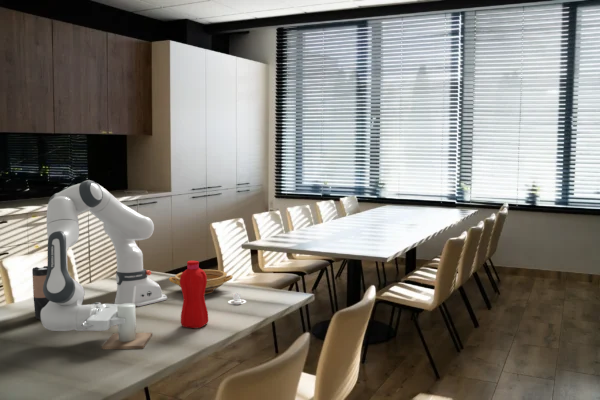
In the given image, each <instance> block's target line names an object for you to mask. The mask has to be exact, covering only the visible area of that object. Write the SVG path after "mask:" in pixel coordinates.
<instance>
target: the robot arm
mask: <svg viewBox="0 0 600 400" xmlns="http://www.w3.org/2000/svg"><path fill="white" fill-rule="evenodd" d="M87 211H89V212H90V213H91V214H92V215H94V216H95V217H96V218H97V219H98V220H100V221H101V222H102V223H103V225H102V226H103V227H102V228H103V231H104V233H105V234H107V236H108V237H109V239H110V241H111V243H112V246H113V248H114V251H115V259H116V273H115V281H116V293H115V294H116V295H115V300H114V303H101V302H100V301H99V302H97V301H96V302H93V303H91V304H90V303H89V304H83V303H84V297H85V295H86V294H85V293H86V292H85V287H84V286H83V285H82V284H81V283H79V282H78V281H77V280H76V279H74V278H73V277H72V276H71V275H70V273H69V270H68V249H69V248H71V247H73V246H74V245H75V244H77V242H78V241H79V239H80V238H79V237H80V223H79V216H78V215H80V214H83V213H84V212H87ZM154 230H155V224H154V222H153V220H152V219H151V217H148V216H145V215H143V214H141V213H139V212H137V211H136V210H135V209H133V208H131V207H129V206H127V205H126V204H124V203H123V202H121V201H120V200H119V199H117V198H116V196H114V195H113V193H111V192H109V191H108V190H107V189H106V188H104V186H102V185H100V184H99V183H97V182H95V181H94V180H90V179H88V180H84V181H82V182H80V183H77V184H73V185H70V186H68V187H66V188H65V189H62V190H61V191H59V192H56V193H54V194H53V195H52V196H51V197H50V198H49V199H48V202H47V208H46V234H47V266H48V270H47V276H46V279H45V281H44V285H43V293H44V295H45V297H46V298H47V299H48V300H49V302H48V304H47V305H46V306H45V307H44V308H42V310H41V313H40V319H39V320H40V322H41V325H42V327H43V328H45V329H46V330H49V331H53V332H55V331H57V332H68V331H72V330H75V331H78V332H79V331H80V332H81V331H96V332H98V331H101V332H102V331H108V330H109V329H110V328H111V327H113V326H118V324H125V322H126V318H119V319H118V311H117V306H118V305H120V304H125V303H133V304H135V307H141V306H146V305H150V304H154V303H159V302H162V301H167V300H168V295H166V294H165V293H162V288H161V286H160V285H159V283H158V282H156V281H155V280H153V279H151V278H150V277H148V276H151V275H152V271H151V270H147V269H145V268H144V254H143V251H142V249H140V247H139V246H138V244H137V243H136V241H144V240H148V239H150V237H152V235H153V233H154Z"/></svg>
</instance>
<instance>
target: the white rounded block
mask: <svg viewBox="0 0 600 400" xmlns="http://www.w3.org/2000/svg"><path fill="white" fill-rule="evenodd" d="M117 311H118V319H119V318H126V322H125V324H118V325H117V333H118V339H119V341H121V342H129V341H133V340H135V339H136V333H137V324H136V323H137V322H136V321H137V319H136V316H137V315H136V306H135V304H133V303H125V304H120V305H118V306H117Z"/></svg>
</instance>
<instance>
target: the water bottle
mask: <svg viewBox="0 0 600 400" xmlns="http://www.w3.org/2000/svg"><path fill="white" fill-rule="evenodd" d="M186 264H187V265H186V268H187V269H185V270H184V271H181V273H182V274H181V277H180V286H181V287H180V286H179V287H180V290H181V292H182V296H183V302H182V307H181V312H180V324H181V326H182V327H183V328H188V329H189V328H191V329H200V328H203V327H204V326H205V325H207V324H208V322H209V313H208V308H207V304H206V300H205V294H204V293H205V288H206V284H207V276H206V274H205V272H204V271H203V270H204V269H202V268H200V267H199V265H200V262H199V261H198V260H188V261H187V262H186Z"/></svg>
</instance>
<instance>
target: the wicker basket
mask: <svg viewBox="0 0 600 400" xmlns="http://www.w3.org/2000/svg"><path fill="white" fill-rule="evenodd" d="M202 270H203V271H204V272H205V274H206V276H207V284H206V288H205V293H204V295H208V294H211V293H213V292H214V290H215V289H218V288H220V287H221V286H223V285H224V284H225V283H228V282H229V281H231V280H232V279H233V275H228V274H227V272H225V271H222V270H216V269H202ZM181 274H182V272H179V273H177V274H175V275H174V276H171V277H169V278H168V279H169V282H171V283H173V284H175V285H177V286H178V287H179V288H181V286H180V277H181Z"/></svg>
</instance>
